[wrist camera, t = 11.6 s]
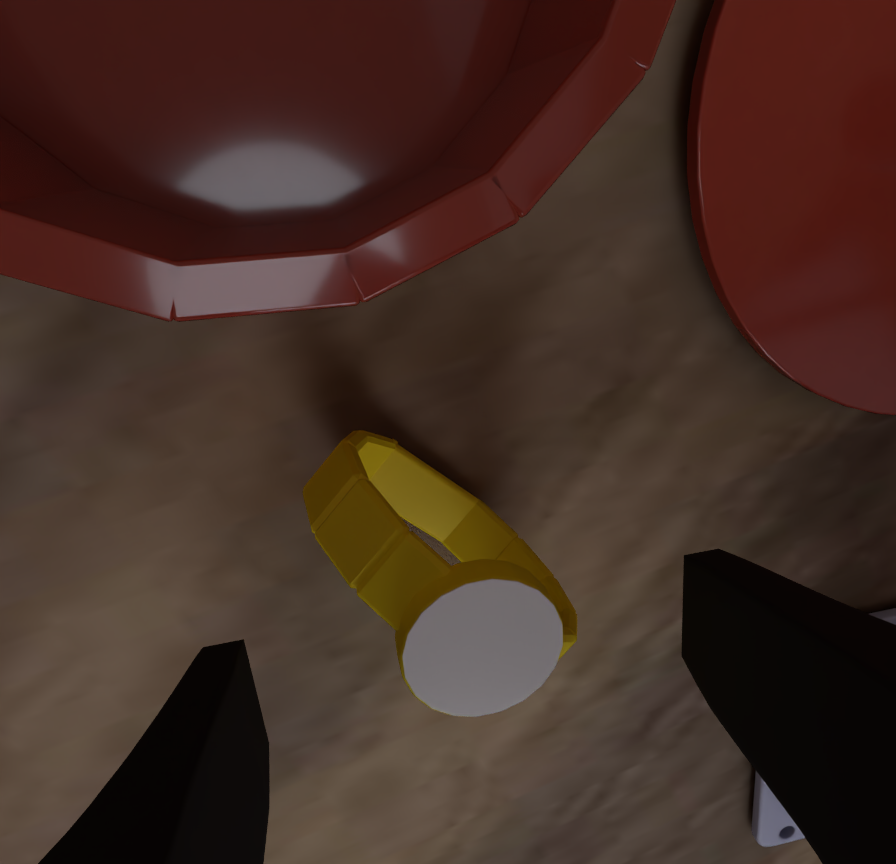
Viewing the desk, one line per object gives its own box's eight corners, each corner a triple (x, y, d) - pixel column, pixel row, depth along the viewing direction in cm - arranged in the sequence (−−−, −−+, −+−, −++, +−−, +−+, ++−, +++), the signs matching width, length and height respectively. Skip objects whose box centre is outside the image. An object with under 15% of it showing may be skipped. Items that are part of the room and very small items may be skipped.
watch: (282, 468, 16) (269, 623, 11) (358, 373, 16) (384, 486, 11) (478, 596, 19) (551, 779, 13) (550, 515, 18) (656, 669, 13)
